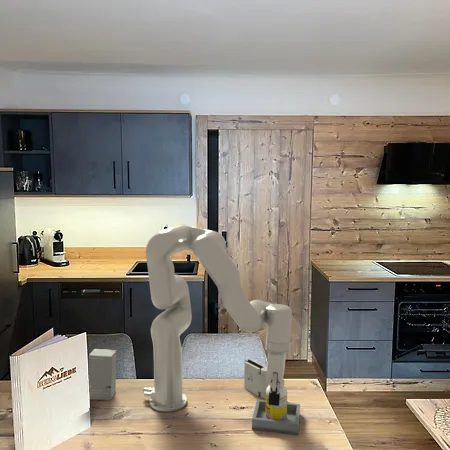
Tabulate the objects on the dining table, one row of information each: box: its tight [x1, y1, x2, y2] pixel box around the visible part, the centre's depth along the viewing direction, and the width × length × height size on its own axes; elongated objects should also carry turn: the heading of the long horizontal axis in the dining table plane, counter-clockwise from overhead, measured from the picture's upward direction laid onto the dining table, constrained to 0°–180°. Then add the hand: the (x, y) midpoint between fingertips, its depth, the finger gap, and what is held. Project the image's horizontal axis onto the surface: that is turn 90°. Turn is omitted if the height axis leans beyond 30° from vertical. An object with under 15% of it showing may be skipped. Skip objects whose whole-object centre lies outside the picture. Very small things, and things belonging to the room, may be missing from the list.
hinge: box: [243, 358, 270, 399], centre depth 161 cm, size 14×5×10 cm, turn 51°
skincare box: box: [87, 348, 117, 401], centre depth 158 cm, size 8×7×16 cm
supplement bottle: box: [265, 378, 288, 421], centre depth 143 cm, size 7×7×13 cm
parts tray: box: [251, 398, 301, 436], centre depth 143 cm, size 14×12×4 cm
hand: (275, 396), depth 143 cm, fingers open, 9 cm apart
